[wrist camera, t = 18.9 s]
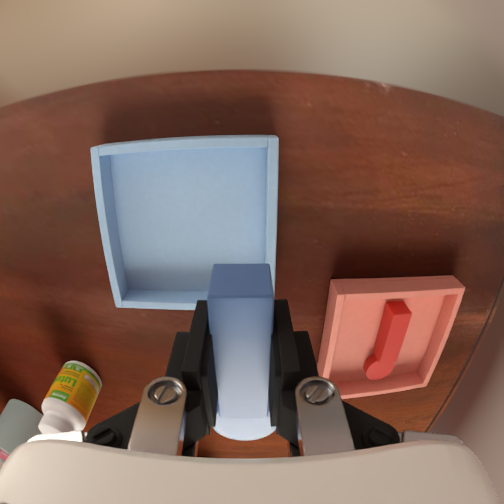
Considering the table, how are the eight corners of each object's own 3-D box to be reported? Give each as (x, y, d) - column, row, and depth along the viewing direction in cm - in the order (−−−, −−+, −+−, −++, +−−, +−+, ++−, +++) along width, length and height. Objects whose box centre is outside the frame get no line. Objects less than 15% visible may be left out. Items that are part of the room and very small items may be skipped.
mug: (7, 390, 36) (-19, 434, 27) (54, 420, 38) (33, 468, 29) (10, 423, 40) (-9, 460, 31) (50, 448, 43) (34, 487, 33)
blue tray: (275, 135, 23) (279, 137, 20) (271, 293, 28) (273, 310, 26) (104, 143, 22) (90, 147, 20) (125, 292, 28) (115, 307, 26)
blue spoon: (286, 262, 11) (294, 295, 9) (275, 422, 15) (278, 456, 13) (196, 263, 11) (186, 295, 9) (215, 422, 15) (212, 456, 13)
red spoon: (408, 300, 28) (418, 312, 26) (386, 371, 32) (392, 384, 30) (379, 301, 28) (387, 315, 26) (360, 374, 32) (365, 388, 30)
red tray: (452, 274, 28) (465, 287, 25) (418, 371, 33) (426, 386, 31) (330, 278, 28) (337, 294, 25) (313, 384, 33) (317, 401, 31)
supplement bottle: (86, 356, 31) (54, 420, 23) (110, 388, 34) (86, 451, 25) (56, 361, 32) (23, 418, 23) (79, 391, 34) (54, 448, 25)
